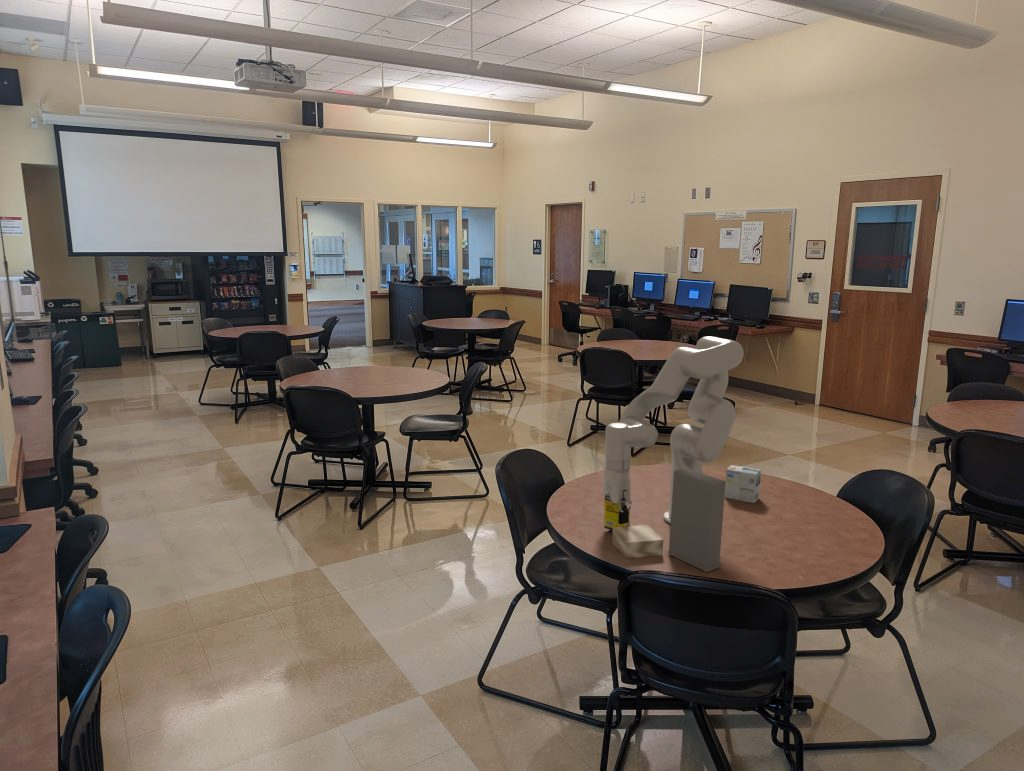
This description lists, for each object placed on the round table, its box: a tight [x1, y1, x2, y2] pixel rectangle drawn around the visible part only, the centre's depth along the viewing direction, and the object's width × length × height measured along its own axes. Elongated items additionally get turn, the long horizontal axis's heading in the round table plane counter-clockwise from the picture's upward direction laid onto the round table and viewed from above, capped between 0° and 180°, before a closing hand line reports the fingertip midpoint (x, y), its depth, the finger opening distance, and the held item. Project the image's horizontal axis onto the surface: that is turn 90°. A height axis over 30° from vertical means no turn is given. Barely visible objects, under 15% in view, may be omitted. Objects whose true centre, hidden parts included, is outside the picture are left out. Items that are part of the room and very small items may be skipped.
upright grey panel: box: [667, 468, 726, 573], centre depth 192 cm, size 14×6×25 cm, turn 35°
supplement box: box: [603, 494, 631, 531], centre depth 212 cm, size 6×6×11 cm
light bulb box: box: [724, 464, 762, 504], centre depth 243 cm, size 11×7×11 cm, turn 58°
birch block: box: [611, 524, 664, 559], centre depth 201 cm, size 11×11×5 cm
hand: (616, 517), depth 213 cm, fingers closed on supplement box, 8 cm apart
